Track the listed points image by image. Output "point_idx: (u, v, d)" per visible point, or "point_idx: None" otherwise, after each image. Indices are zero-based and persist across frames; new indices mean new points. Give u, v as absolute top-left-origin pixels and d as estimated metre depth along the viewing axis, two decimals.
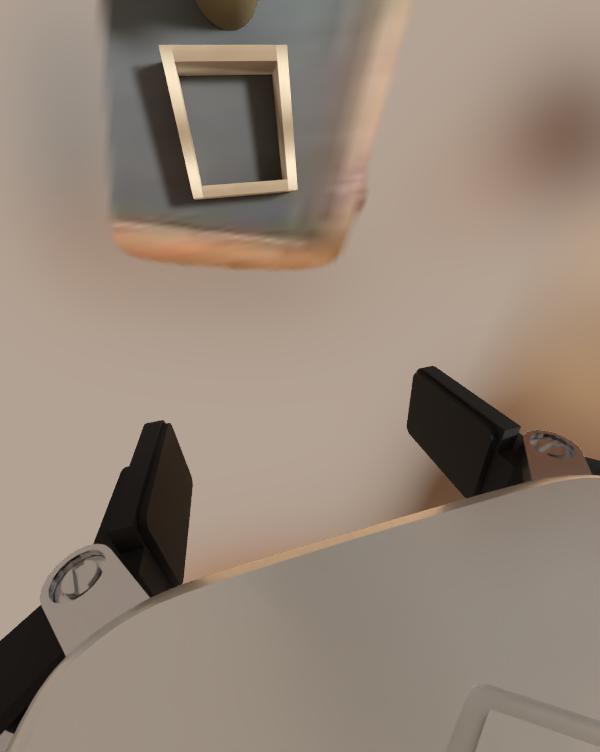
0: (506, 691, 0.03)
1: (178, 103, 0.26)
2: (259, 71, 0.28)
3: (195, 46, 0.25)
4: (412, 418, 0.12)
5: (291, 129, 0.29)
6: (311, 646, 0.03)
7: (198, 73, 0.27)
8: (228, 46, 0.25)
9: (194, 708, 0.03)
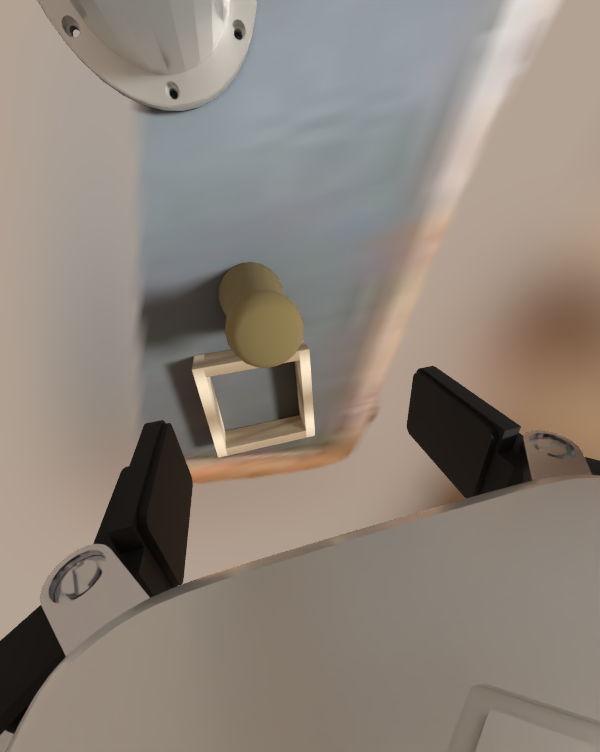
0: (506, 691, 0.03)
1: (208, 401, 0.28)
2: None
3: (225, 364, 0.27)
4: (412, 418, 0.12)
5: (311, 399, 0.31)
6: (311, 646, 0.03)
7: None
8: None
9: (194, 708, 0.03)
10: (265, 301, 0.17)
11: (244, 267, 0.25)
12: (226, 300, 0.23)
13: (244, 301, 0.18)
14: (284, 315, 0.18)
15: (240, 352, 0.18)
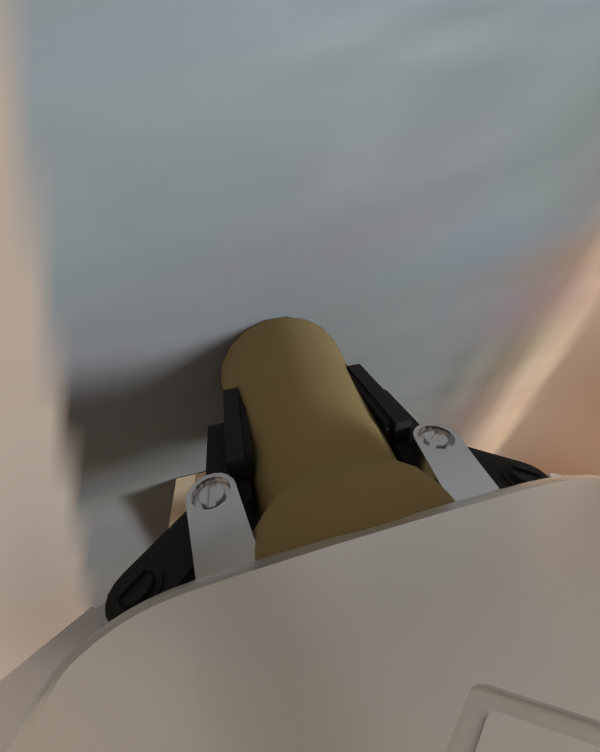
0: (506, 691, 0.03)
1: None
2: None
3: None
4: None
5: None
6: (311, 646, 0.03)
7: None
8: None
9: (194, 708, 0.03)
10: None
11: (275, 331, 0.12)
12: None
13: None
14: None
15: None
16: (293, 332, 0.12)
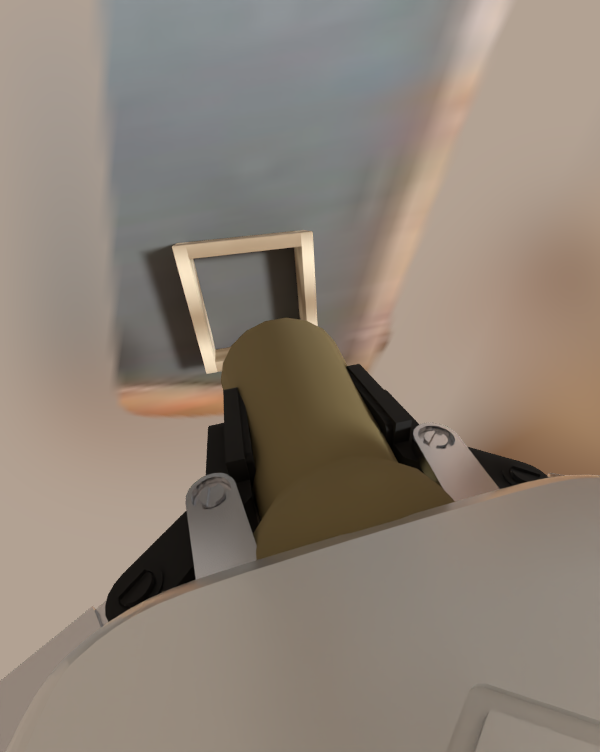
0: (506, 691, 0.03)
1: (192, 294, 0.24)
2: None
3: (212, 243, 0.22)
4: None
5: (314, 303, 0.27)
6: (311, 646, 0.03)
7: None
8: (248, 239, 0.23)
9: (194, 708, 0.03)
10: None
11: (275, 332, 0.12)
12: None
13: None
14: None
15: None
16: (293, 333, 0.12)
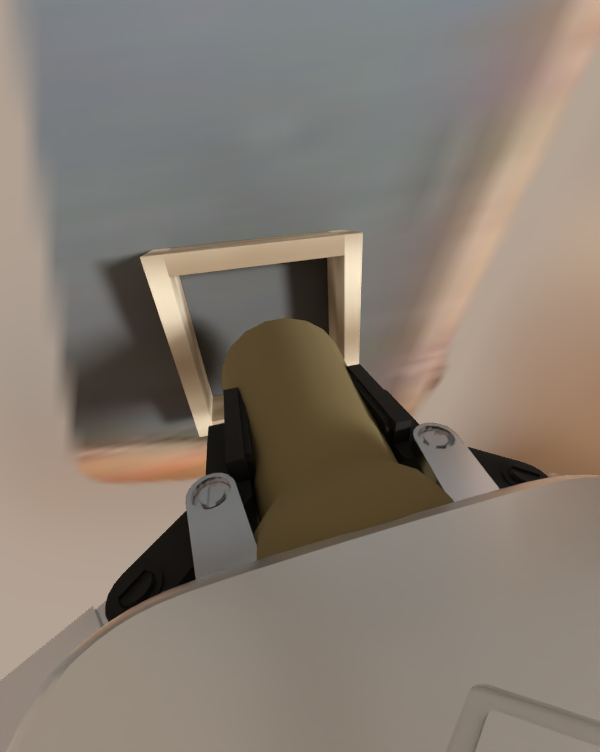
0: (506, 691, 0.03)
1: (176, 329, 0.15)
2: None
3: (206, 251, 0.14)
4: None
5: (357, 337, 0.18)
6: (311, 646, 0.03)
7: None
8: (264, 245, 0.14)
9: (194, 708, 0.03)
10: None
11: (275, 332, 0.12)
12: None
13: None
14: None
15: None
16: (293, 333, 0.12)
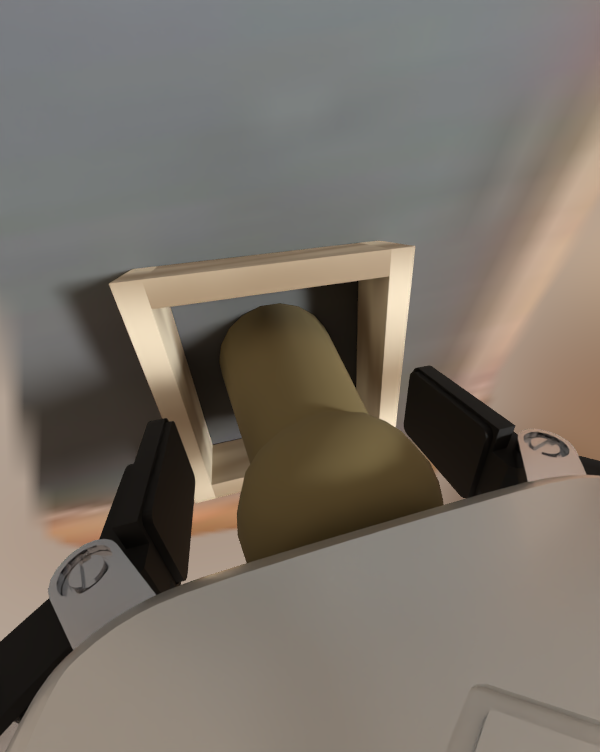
0: (506, 691, 0.03)
1: (163, 377, 0.11)
2: None
3: (204, 274, 0.10)
4: (409, 417, 0.12)
5: (397, 378, 0.14)
6: (311, 646, 0.03)
7: None
8: (283, 265, 0.10)
9: (194, 708, 0.03)
10: (367, 484, 0.06)
11: (269, 315, 0.13)
12: (236, 393, 0.11)
13: (301, 481, 0.06)
14: None
15: None
16: (286, 316, 0.13)
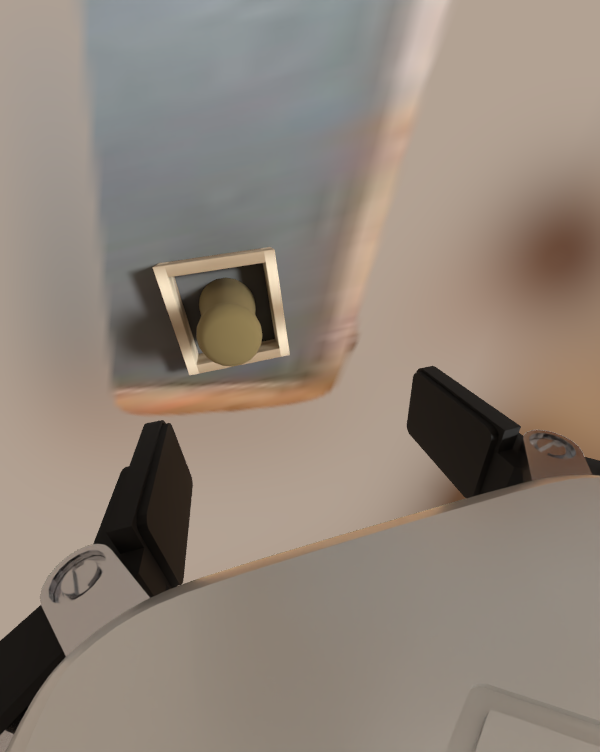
0: (506, 691, 0.03)
1: (173, 307, 0.28)
2: None
3: (187, 263, 0.26)
4: (412, 418, 0.12)
5: (281, 310, 0.30)
6: (311, 646, 0.03)
7: None
8: (218, 258, 0.27)
9: (194, 708, 0.03)
10: (226, 312, 0.22)
11: (219, 282, 0.29)
12: (202, 311, 0.27)
13: (210, 312, 0.22)
14: (242, 323, 0.22)
15: (208, 353, 0.23)
16: (226, 282, 0.29)
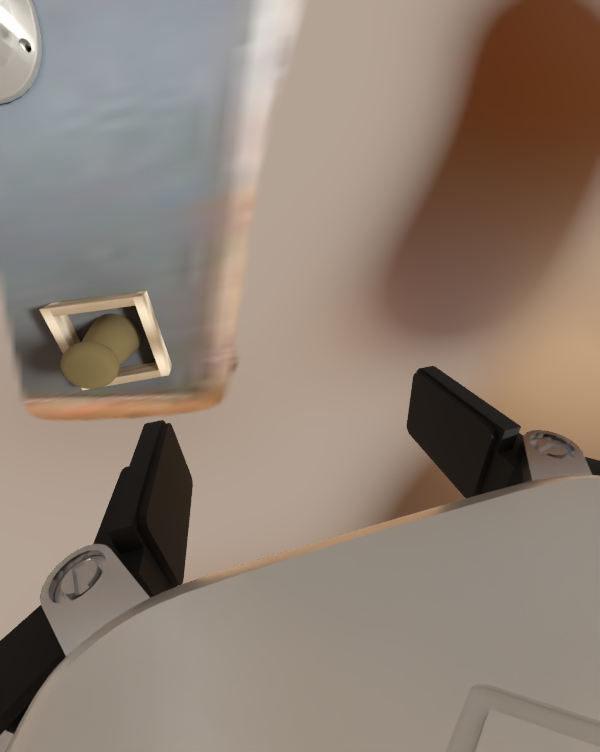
0: (506, 691, 0.03)
1: (60, 338, 0.35)
2: None
3: (68, 306, 0.34)
4: (412, 418, 0.12)
5: (155, 341, 0.38)
6: (311, 646, 0.03)
7: None
8: (94, 303, 0.34)
9: (194, 708, 0.03)
10: (79, 351, 0.29)
11: (103, 318, 0.37)
12: None
13: (68, 350, 0.30)
14: (93, 359, 0.30)
15: (69, 380, 0.30)
16: (108, 318, 0.37)
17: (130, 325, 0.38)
